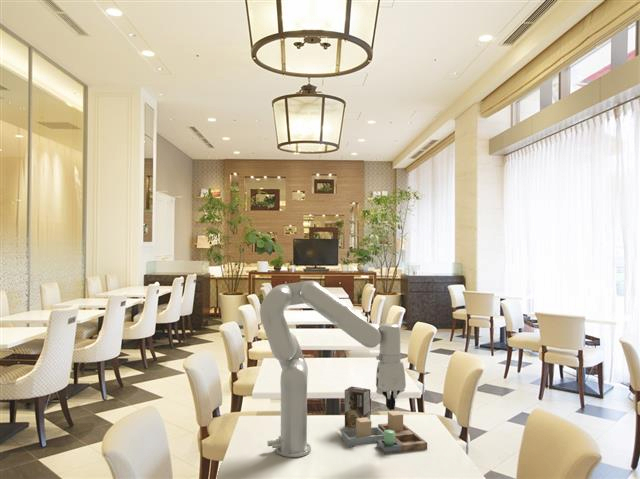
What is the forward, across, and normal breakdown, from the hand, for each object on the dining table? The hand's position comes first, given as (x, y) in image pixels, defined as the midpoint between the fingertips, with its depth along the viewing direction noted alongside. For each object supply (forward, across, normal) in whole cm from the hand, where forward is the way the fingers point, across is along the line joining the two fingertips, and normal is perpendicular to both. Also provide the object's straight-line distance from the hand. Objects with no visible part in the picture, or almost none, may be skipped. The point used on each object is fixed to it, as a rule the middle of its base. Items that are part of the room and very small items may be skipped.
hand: (390, 408), depth 177 cm
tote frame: (+15, -6, +12) cm, 20 cm away
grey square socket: (+15, -1, 0) cm, 15 cm away
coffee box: (+15, -4, +24) cm, 29 cm away
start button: (+13, -1, 0) cm, 13 cm away
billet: (+15, -6, +12) cm, 20 cm away
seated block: (+15, +8, +13) cm, 21 cm away
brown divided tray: (+15, +8, +8) cm, 19 cm away
